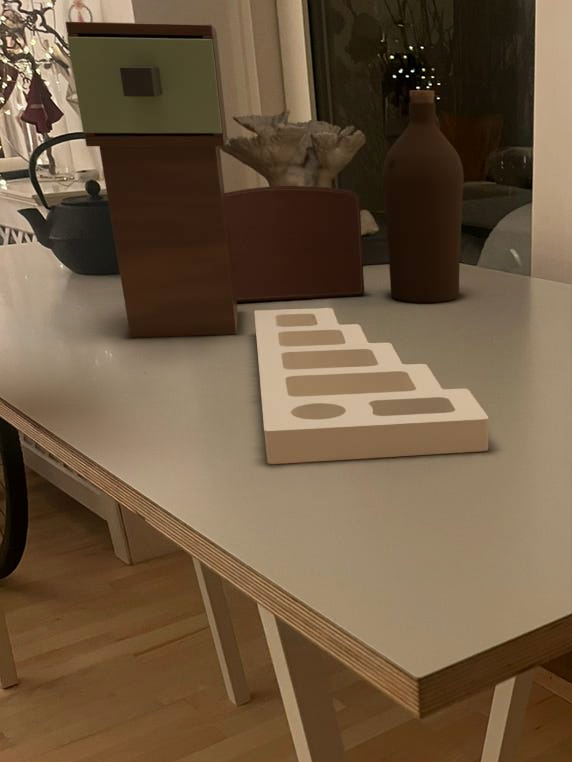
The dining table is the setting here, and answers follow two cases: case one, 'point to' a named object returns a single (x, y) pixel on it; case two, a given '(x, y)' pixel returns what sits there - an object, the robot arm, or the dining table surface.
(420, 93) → the olive oil
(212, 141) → the stand
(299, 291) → the letter holder
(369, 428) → the holder
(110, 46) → the drawer
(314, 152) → the coral
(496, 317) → the dining table surface
